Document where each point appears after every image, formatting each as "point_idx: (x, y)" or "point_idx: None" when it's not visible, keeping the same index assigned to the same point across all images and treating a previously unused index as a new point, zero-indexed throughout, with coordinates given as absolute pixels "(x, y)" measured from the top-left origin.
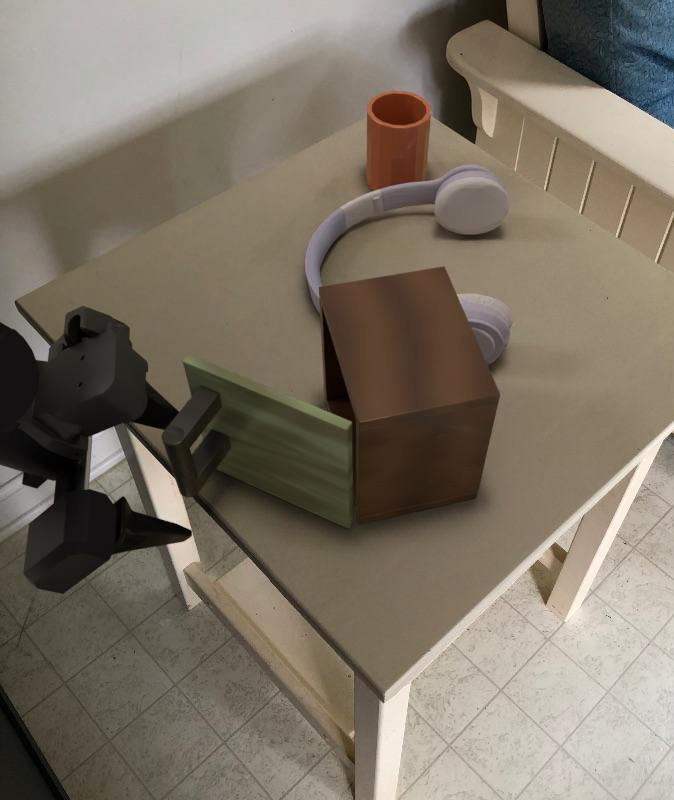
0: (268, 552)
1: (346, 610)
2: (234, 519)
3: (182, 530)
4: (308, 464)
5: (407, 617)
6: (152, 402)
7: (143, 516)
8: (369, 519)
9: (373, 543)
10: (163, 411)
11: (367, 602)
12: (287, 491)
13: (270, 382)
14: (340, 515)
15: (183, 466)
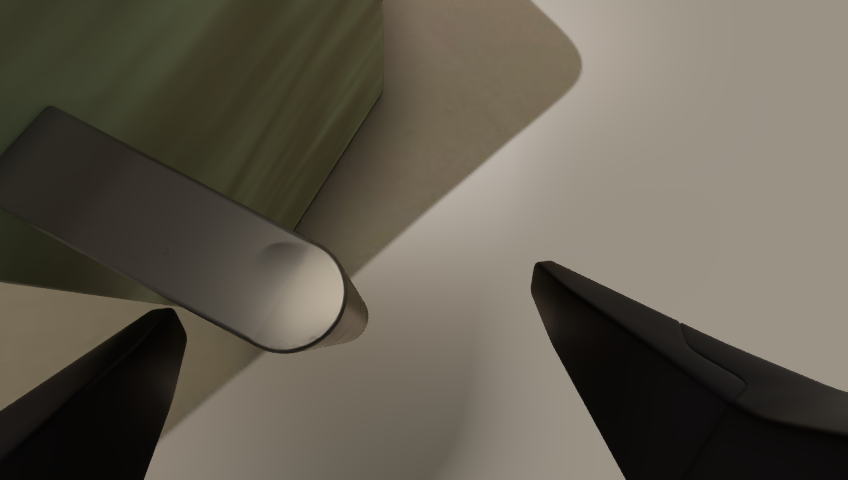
0: (418, 205)
1: (506, 102)
2: (355, 262)
3: (567, 274)
4: (333, 20)
5: (512, 34)
6: (31, 451)
7: (702, 369)
8: None
9: (405, 62)
10: (99, 394)
11: (494, 76)
12: (323, 157)
13: None
14: (375, 79)
15: (357, 293)
